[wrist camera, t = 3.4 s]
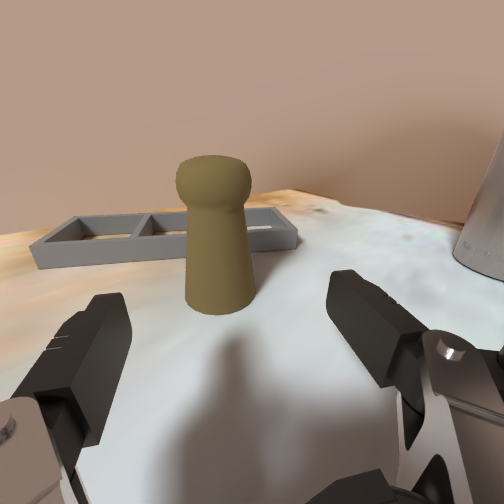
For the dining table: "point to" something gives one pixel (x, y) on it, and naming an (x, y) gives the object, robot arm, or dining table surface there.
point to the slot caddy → (146, 238)
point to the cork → (216, 234)
